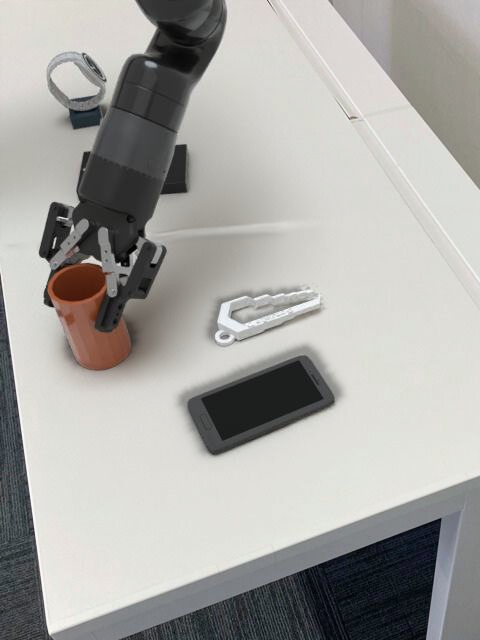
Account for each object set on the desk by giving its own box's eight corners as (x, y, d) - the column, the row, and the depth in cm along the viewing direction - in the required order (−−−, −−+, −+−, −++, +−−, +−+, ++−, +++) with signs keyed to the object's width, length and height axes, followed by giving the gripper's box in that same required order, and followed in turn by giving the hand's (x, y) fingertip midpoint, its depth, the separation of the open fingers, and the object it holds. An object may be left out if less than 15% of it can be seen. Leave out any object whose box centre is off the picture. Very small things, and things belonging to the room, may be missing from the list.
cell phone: (185, 404, 80) (184, 399, 79) (307, 356, 84) (306, 352, 83) (211, 456, 75) (210, 452, 75) (337, 403, 80) (337, 399, 79)
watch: (119, 130, 114) (101, 60, 106) (63, 140, 112) (40, 69, 104) (115, 111, 118) (97, 41, 109) (61, 120, 116) (38, 50, 108)
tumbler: (71, 372, 83) (43, 307, 75) (78, 331, 87) (51, 265, 79) (129, 367, 83) (107, 301, 76) (133, 326, 87) (112, 260, 80)
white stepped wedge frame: (308, 284, 92) (307, 273, 90) (326, 310, 89) (325, 299, 87) (204, 319, 88) (202, 308, 87) (219, 348, 85) (217, 338, 84)
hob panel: (82, 209, 101) (75, 190, 99) (89, 169, 107) (83, 150, 105) (189, 201, 103) (185, 181, 100) (190, 162, 109) (186, 142, 106)
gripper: (206, 193, 78) (152, 345, 80) (100, 152, 83) (52, 296, 85) (162, 177, 71) (104, 344, 73) (50, 133, 76) (-1, 290, 78)
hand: (77, 318), depth 79 cm, fingers open, 6 cm apart
